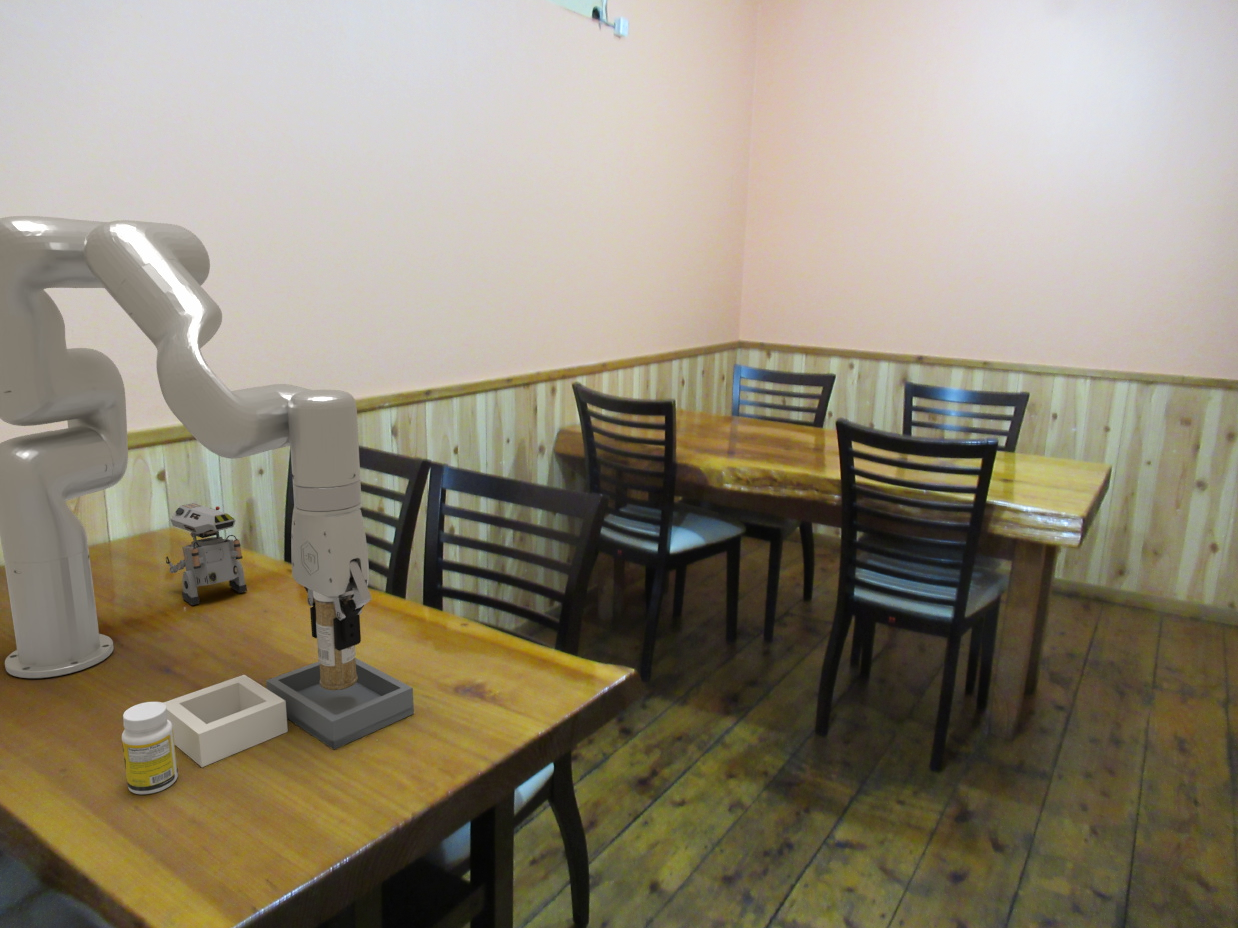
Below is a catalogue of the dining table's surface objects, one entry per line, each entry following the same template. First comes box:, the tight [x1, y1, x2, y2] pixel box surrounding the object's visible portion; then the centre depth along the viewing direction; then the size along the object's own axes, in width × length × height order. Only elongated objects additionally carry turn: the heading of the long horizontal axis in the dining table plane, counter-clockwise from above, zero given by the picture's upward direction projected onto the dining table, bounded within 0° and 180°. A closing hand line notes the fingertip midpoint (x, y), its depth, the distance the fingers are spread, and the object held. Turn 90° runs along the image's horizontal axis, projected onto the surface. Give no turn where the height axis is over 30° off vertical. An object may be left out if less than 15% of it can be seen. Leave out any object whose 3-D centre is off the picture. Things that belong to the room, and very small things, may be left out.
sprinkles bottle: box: [313, 585, 358, 691], centre depth 103 cm, size 5×5×14 cm
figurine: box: [165, 502, 248, 607], centre depth 141 cm, size 9×12×15 cm
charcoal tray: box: [265, 657, 415, 750], centre depth 105 cm, size 15×11×4 cm
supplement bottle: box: [121, 701, 179, 795], centre depth 89 cm, size 5×5×8 cm
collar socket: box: [162, 674, 289, 768], centre depth 99 cm, size 10×10×4 cm
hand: (336, 638), depth 103 cm, fingers closed on sprinkles bottle, 4 cm apart
